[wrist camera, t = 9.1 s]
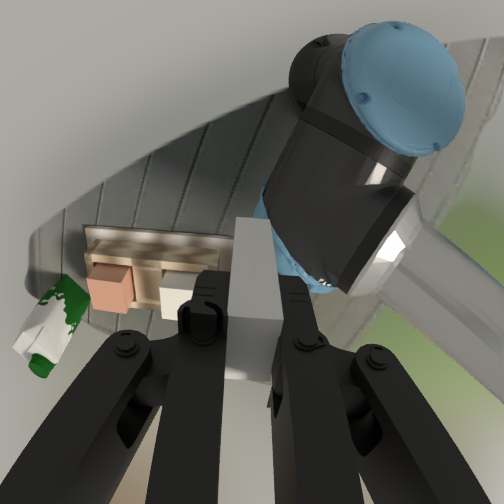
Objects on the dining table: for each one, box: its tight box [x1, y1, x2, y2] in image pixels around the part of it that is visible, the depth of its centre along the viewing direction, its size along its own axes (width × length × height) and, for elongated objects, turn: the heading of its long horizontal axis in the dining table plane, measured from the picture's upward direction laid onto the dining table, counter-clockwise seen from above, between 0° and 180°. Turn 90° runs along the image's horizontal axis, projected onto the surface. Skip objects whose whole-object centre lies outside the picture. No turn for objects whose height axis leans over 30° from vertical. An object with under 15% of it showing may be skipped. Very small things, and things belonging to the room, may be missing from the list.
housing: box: [84, 226, 234, 311], centre depth 50 cm, size 26×14×6 cm, turn 84°
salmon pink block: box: [86, 262, 136, 314], centre depth 47 cm, size 6×6×7 cm
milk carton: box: [12, 275, 91, 378], centre depth 48 cm, size 9×9×20 cm
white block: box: [159, 269, 201, 320], centre depth 48 cm, size 6×6×7 cm
